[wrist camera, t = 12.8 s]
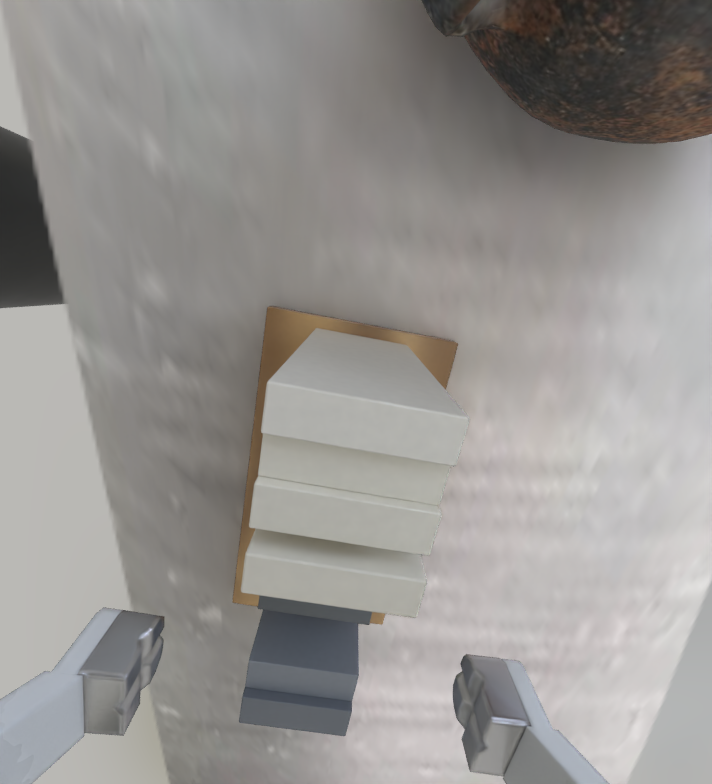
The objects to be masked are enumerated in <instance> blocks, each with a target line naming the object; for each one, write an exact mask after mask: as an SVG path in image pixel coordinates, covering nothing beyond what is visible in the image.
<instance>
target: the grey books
mask: <svg viewBox="0 0 712 784" xmlns="http://www.w3.org/2000/svg"><path fill="white" fill-rule="evenodd" d="M258 609H263V612H262V616H261V619H260V623H259V627H258V630H257V634H256V637H255V641H254V644H253V648H252V651H251V655H250V658H249V663H248V670H247V677H246V684H245V689H244V693H243V697H242V703H241V711H240V718H239V722H240V723H246V724H254V725H262V726H270V727H277V728H285V729H293V730H301V731H308V732H316V733H324V734H332V735H339V736H345V735H346V732H347V728H348V724H349V720H350V716H351V712H352V699H353V695H354V691H355V687H356V684H357V680H358V676H359V667H358V624H365V625H369V624H370V620H371V616H372V612H370V611H363V610H356V609H349V608H342V607H336V606H329V605H322V604H315V603H309V602H302V601H295V600H288V599H282V598H275V597H268V596H261V595H259V602H258Z"/></svg>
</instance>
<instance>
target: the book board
mask: <svg viewBox="0 0 712 784" xmlns="http://www.w3.org/2000/svg"><path fill="white" fill-rule="evenodd" d="M316 328H320V329H325V330H330V331H336V332H341V333H346V334H351V335H357V336H362V337H367V338H372V339H378V340H383V341H388V342H393V343H399V344H404V345H407V346H408V347H409V348H410V349H411V350H412V352H413V353H414V354H415V355H416V356H417V357H418V358H419V360H420V361H421V362H422V363H423V364H424V365H425V367H426V368H427V369H428V370H429V371H430V372H431V374H432V375H433V376H434V377H435V378H436V379H437V381H438V382H439V383H440V384H441V385H442V386H443V387H444V389H445V390H446V387H447V383H448V379H449V376H450V372H451V368H452V364H453V361H454V357H455V353H456V350H457V346H458V343H456V342H455V341H452V340H446V339H441V338H436V337H431V336H426V335H420V334H415V333H410V332H405V331H400V330H394V329H389V328H384V327H379V326H374V325H368V324H363V323H358V322H353V321H348V320H342V319H337V318H332V317H327V316H322V315H316V314H311V313H306V312H301V311H296V310H290V309H285V308H280V307H275V306H269V307H267V315H266V323H265V331H264V340H263V348H262V357H261V365H260V374H259V382H258V391H257V399H256V408H255V416H254V424H253V433H252V441H251V450H250V458H249V467H248V475H247V484H246V492H245V501H244V509H243V518H242V526H241V534H240V543H239V551H238V560H237V568H236V577H235V585H234V594H233V603H238V604H245V605H252V606H258V602H259V595H254V594H248V593H242V592H241V584H242V576H243V568H244V560H245V553H246V551H247V548H248V546H249V544H250V541H251V539H252V536H253V534H254V531H255V528H250V527H249V521H250V513H251V505H252V497H253V489H254V483H255V481H256V479H257V477H258V469H259V462H260V454H261V446H262V438H263V433H261V426H262V418H263V410H264V402H265V394H266V386H267V382H268V381H269V379H270V378H271V377H272V376H273V375H274V374H275V373H276V372H277V371H278V370H279V368H280V367H281V366H282V365H283V364H284V363H285V362H286V361H287V360H288V359H289V357H290V356H291V355H292V354H293V353H294V352H295V351H296V350H297V349H298V348H299V346H300V345H301V344H302V343H303V342H304V341H305V340H306V339H307V338H308V337H309V335H310V334H311V333H312V332H313V331H314V330H315V329H316ZM384 616H385V614H383V613H376V612H372V616H371V620H370V623H375V624H381V625H382V624H383V620H384Z"/></svg>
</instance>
